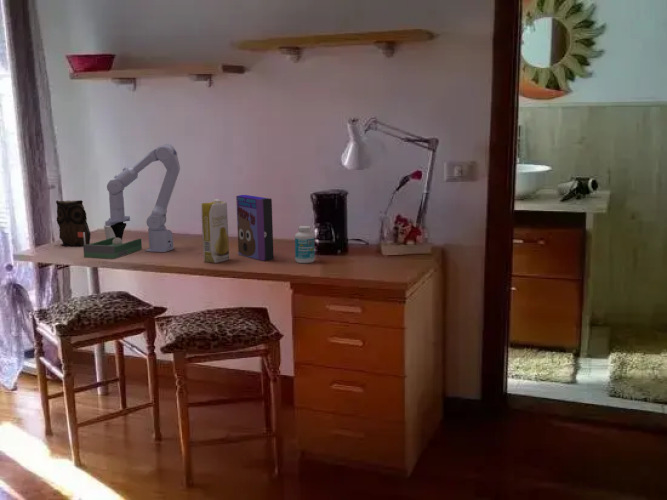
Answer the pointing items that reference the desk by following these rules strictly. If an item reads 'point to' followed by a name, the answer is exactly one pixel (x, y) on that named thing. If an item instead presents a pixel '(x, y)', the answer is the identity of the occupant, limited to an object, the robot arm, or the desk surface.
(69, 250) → the desk surface
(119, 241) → the golf ball
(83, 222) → the owl
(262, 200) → the cereal box
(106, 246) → the putting green
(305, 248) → the pill bottle
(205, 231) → the juice carton
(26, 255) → the desk surface
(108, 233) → the grey cup
